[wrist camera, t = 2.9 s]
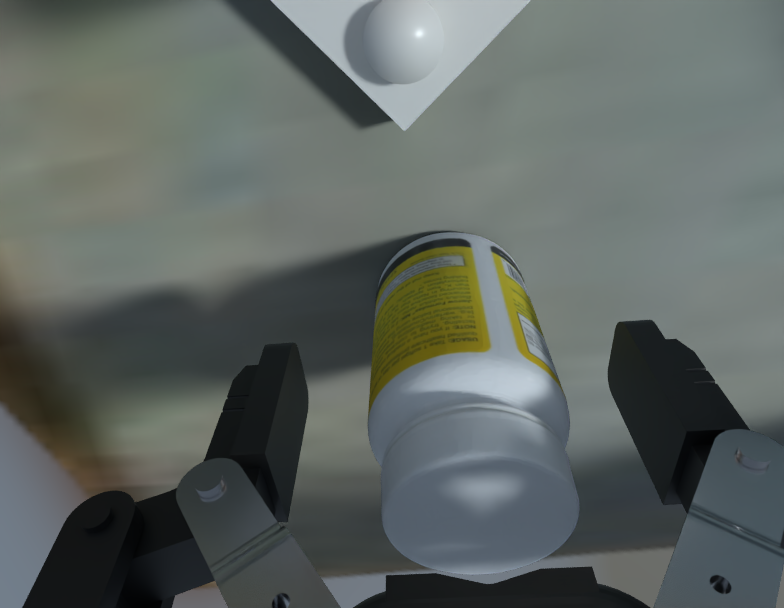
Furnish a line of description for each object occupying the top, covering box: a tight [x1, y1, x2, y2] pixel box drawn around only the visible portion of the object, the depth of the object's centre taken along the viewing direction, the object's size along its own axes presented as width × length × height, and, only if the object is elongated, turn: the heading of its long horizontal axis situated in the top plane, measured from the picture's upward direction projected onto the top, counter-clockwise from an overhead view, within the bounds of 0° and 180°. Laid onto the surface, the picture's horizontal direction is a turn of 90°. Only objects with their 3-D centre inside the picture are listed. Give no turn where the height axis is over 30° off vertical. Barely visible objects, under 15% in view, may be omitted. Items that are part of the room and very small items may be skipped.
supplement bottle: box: [368, 232, 580, 575], centre depth 14 cm, size 5×5×8 cm
